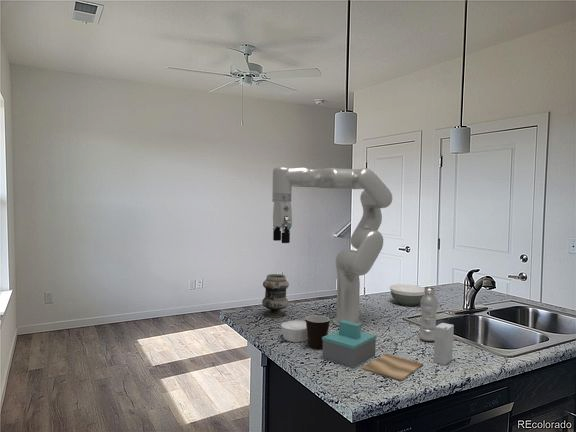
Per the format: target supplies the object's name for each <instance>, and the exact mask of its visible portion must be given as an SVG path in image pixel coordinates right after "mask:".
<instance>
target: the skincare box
mask: <svg viewBox="0 0 576 432" xmlns="http://www.w3.org/2000/svg"><path fill="white" fill-rule="evenodd" d="M454 327H455V325H454V324H450V323H446V322H441V323H439V324H436V327H435V340H434V341H433V342H434V345H433V347H434V349H433V363H436V364H439V365H443V366H446V365H447V364H449V363H450V362H451V361H452V360H453V352H454V351H453V349H454Z"/></svg>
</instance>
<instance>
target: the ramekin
mask: <svg viewBox="0 0 576 432" xmlns="http://www.w3.org/2000/svg"><path fill="white" fill-rule="evenodd" d="M280 328H281V331H282V333H281V334H282V337H283V339H284V340H285V341H287V342H290V343H302V342H305V341H308V338H307V327H306V321H305V320H289V321H284V322H282V323H281V324H280Z"/></svg>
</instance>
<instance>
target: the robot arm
mask: <svg viewBox="0 0 576 432" xmlns="http://www.w3.org/2000/svg"><path fill="white" fill-rule="evenodd" d="M293 187H294V188H295V187H296V188H298V187H299V188H319V189H331V190H332V189H333V190H334V189H336V190H338V189H339V190H340V189H341V190H363V191H362V192H361V194H360V197H359V198H360V203H361V206H362V211H363V213H362V216H361V218H360V221H359V222H358V224H357V226H356V227H355V230H354V231H353V233H352V235H351V237H350V244H351V246H352V248H354V249H356V250H354V249H347V248H346V249H342V250H340V251H339V252H338V253H337V255H336V257H335V258H336V259H335V266H336V267H335V268H336V277H337V278H336V280H337V281H336V282H337V283H336V285H337V286H336V287H337V288H336V317H334V318H332V323H333V324H334V325H336V326H338V327H339V321H342V320H345V321H349V322H353V323H357V324H361V326H362V325H363V320H362V319H360V317H361V316H363V315H364V312H363V311H362V310H360V288H361V281H360V280H361V278H360V276H365V275H366V274H368V273H369V271H370V270H371V269H372V267H373V266H374V264H375V262H376V260H377V258H378V256H380V253H381V251H382V249H383V246H384V236H383V234H382V233H381V232H380V231H379V229H380V227H381V224H382V222H383V216H382V215H383V214H382V209H385V208H388V207H390V206H391V204H392V202H393V194H392V192H391V190H390V188H388V187H387V185H386V184H385V183H384V182H383V180H381V178H380V177H379V176H378V175H377V174H376V173H375V172H374V171H373V170H371V169H369V168H366V167H365V168H355V169H354V168H337V167H325V168H319V169H309V168H307V167H303V166H300V167H287V166H276V167H274V168H273V169H272V196H271V197H272V198H271V199H272V200H271V201H272V203H273V209H272V210H273V211H272V213H273V214H272V224H273V225H272V226H273V228H272V229H273V233H272V234H273V235H272V240H273V241H280V242H281V244H289V243H291V242H290V241H291V228H292V226H293V214H292V212H293V211H292V210H293V209H292V188H293Z"/></svg>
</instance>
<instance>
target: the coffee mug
mask: <svg viewBox="0 0 576 432" xmlns="http://www.w3.org/2000/svg"><path fill="white" fill-rule="evenodd" d="M330 319H331V318H329V316H324V315H310V316H309V315H308V316H307V317H305V322H306V327H307V338H308V339H307V346H308V348H309V349H312V350H319V351H320V350H323V340H322V337H324V336H326V335H328V334H329V328H330V322H331V320H330Z"/></svg>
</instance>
